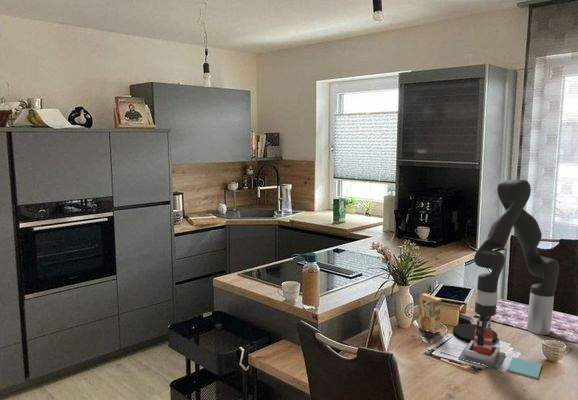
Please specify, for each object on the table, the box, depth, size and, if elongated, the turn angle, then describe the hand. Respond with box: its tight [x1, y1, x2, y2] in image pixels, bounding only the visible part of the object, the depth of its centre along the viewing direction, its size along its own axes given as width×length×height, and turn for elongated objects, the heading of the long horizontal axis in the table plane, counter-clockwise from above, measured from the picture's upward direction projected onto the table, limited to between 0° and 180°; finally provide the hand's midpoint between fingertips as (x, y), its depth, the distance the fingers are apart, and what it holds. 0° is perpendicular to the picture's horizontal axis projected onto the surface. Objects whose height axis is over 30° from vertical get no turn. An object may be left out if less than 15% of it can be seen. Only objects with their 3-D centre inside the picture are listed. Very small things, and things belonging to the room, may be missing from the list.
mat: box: [506, 356, 543, 380], centre depth 175 cm, size 12×10×1 cm
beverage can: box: [473, 326, 493, 356], centre depth 182 cm, size 6×6×12 cm
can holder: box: [458, 340, 506, 371], centre depth 183 cm, size 14×14×4 cm
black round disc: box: [452, 323, 498, 345], centre depth 203 cm, size 18×18×2 cm
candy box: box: [417, 293, 442, 333], centre depth 207 cm, size 9×4×15 cm, turn 34°
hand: (482, 341), depth 182 cm, fingers open, 8 cm apart
